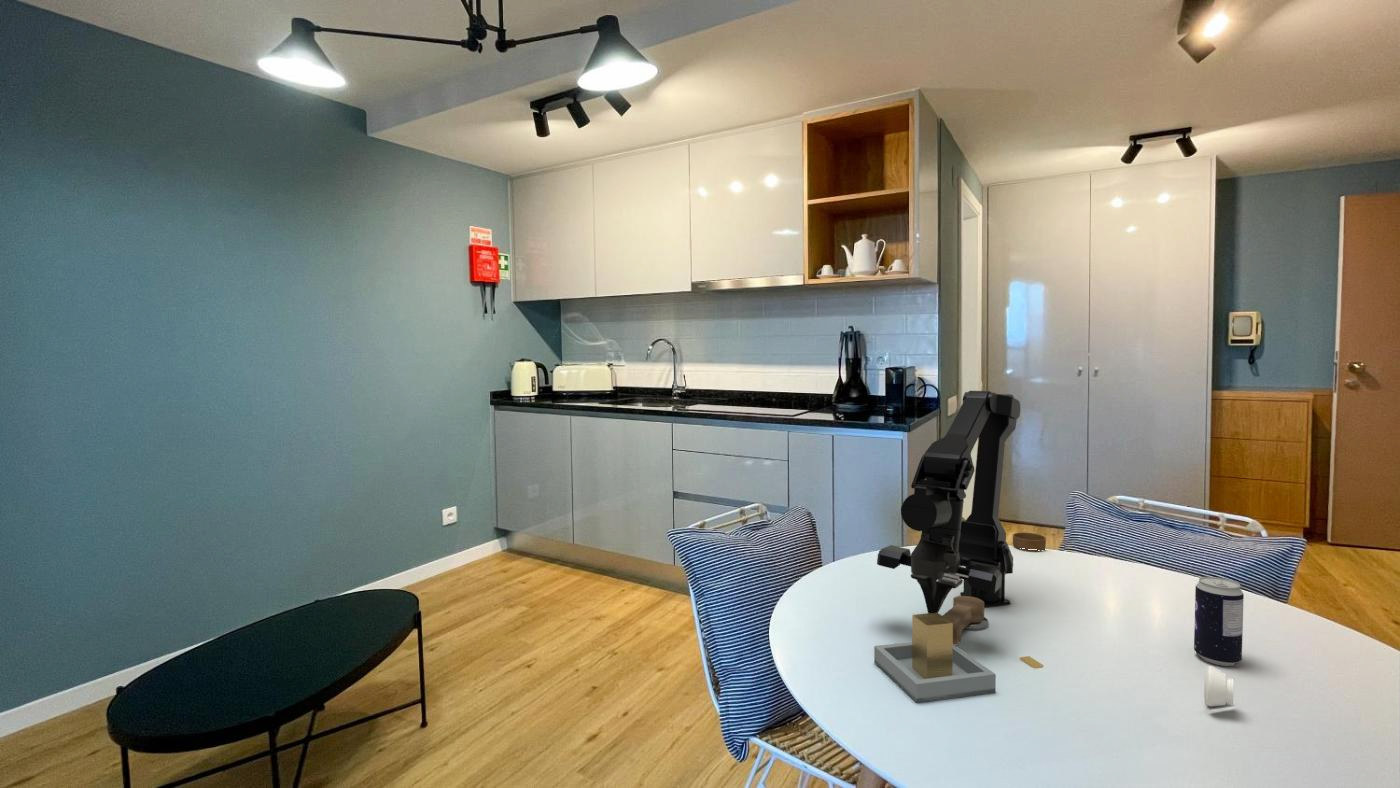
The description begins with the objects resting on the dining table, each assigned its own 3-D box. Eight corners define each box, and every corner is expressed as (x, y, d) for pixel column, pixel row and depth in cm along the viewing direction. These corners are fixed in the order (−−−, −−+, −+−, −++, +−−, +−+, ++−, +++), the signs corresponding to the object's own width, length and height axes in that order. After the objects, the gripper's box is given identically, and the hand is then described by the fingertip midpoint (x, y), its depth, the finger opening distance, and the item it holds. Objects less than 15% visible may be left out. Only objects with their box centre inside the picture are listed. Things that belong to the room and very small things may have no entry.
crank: (958, 609, 116) (959, 593, 116) (988, 616, 113) (988, 600, 113) (925, 637, 105) (925, 620, 105) (956, 645, 101) (956, 628, 101)
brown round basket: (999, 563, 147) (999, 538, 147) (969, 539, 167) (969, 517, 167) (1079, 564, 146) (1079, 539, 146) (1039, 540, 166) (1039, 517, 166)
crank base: (973, 614, 117) (973, 610, 117) (1057, 665, 97) (1057, 660, 97) (941, 617, 115) (941, 613, 115) (1019, 669, 96) (1019, 665, 96)
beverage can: (1231, 654, 100) (1233, 577, 99) (1248, 670, 95) (1251, 590, 94) (1187, 649, 102) (1189, 574, 101) (1202, 665, 97) (1204, 586, 96)
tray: (945, 654, 101) (945, 638, 101) (995, 692, 89) (995, 674, 89) (874, 662, 98) (874, 646, 98) (916, 703, 87) (916, 684, 87)
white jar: (1204, 695, 88) (1205, 659, 88) (1232, 702, 86) (1233, 665, 86) (1203, 710, 84) (1204, 673, 84) (1232, 718, 82) (1233, 680, 82)
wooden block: (936, 665, 96) (937, 612, 96) (952, 678, 92) (952, 623, 92) (912, 668, 95) (912, 614, 95) (926, 681, 91) (927, 625, 91)
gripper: (870, 519, 105) (860, 614, 106) (993, 544, 95) (982, 650, 95) (892, 512, 115) (883, 600, 115) (1006, 535, 104) (996, 631, 104)
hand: (932, 619), depth 107 cm, fingers closed
